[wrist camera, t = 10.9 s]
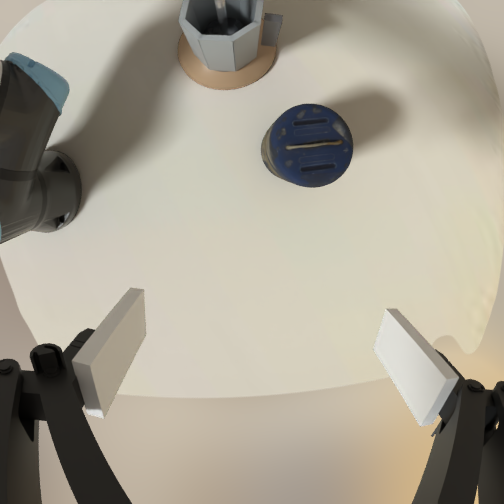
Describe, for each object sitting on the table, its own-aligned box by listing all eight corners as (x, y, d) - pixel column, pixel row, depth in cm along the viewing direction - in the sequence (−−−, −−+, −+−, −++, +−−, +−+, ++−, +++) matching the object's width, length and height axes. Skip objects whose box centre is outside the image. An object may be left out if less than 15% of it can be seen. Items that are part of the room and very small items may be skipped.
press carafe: (172, 88, 42) (146, 62, 29) (186, 9, 38) (170, -33, 24) (271, 94, 43) (281, 68, 30) (279, 14, 39) (291, -29, 25)
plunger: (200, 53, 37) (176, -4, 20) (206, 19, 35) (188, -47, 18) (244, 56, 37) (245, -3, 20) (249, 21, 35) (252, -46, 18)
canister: (262, 119, 44) (273, 92, 27) (321, 126, 45) (362, 107, 27) (257, 177, 47) (265, 184, 30) (316, 183, 47) (355, 194, 30)
